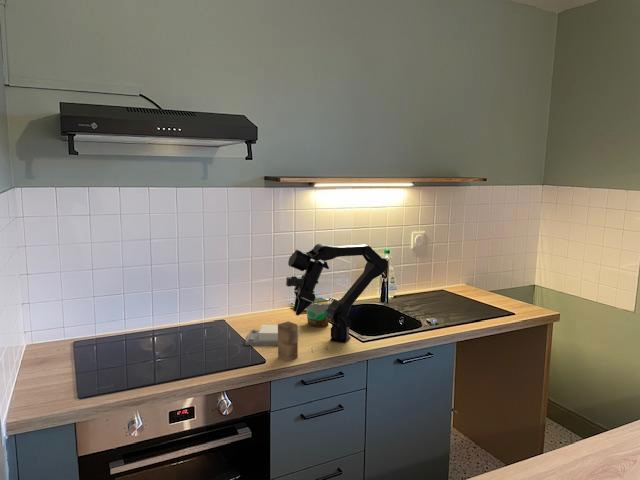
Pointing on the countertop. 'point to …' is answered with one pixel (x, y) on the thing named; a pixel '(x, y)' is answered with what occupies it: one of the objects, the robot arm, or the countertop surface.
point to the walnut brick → (287, 341)
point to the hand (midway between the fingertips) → (295, 313)
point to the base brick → (264, 336)
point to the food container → (317, 315)
